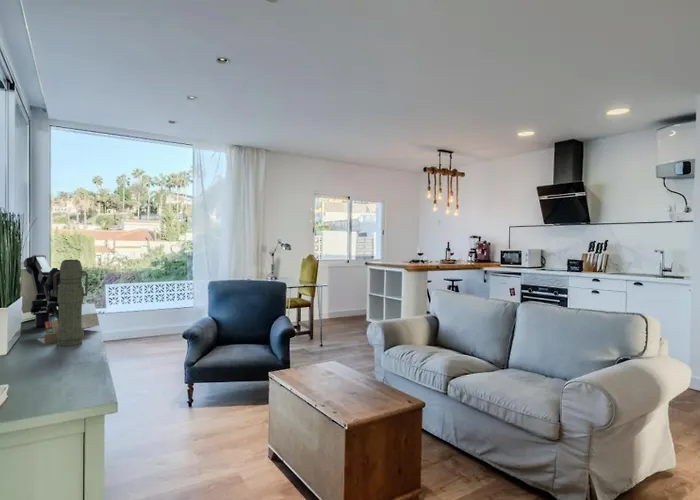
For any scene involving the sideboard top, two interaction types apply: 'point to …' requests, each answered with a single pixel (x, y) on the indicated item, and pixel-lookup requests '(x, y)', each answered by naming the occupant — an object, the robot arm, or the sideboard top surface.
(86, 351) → the sideboard top surface
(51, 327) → the stack of blocks
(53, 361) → the sideboard top surface
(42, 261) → the robot arm
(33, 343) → the sideboard top surface
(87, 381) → the sideboard top surface
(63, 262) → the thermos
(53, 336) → the dock pad
